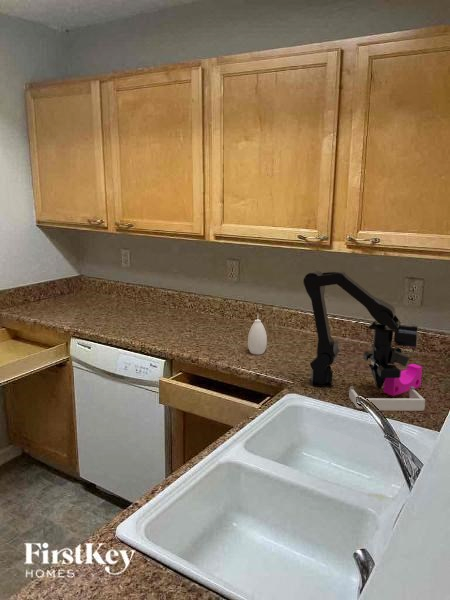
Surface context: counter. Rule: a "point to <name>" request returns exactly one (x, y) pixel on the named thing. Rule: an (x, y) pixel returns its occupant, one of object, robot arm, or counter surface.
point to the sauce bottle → (257, 338)
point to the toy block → (404, 381)
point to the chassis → (394, 402)
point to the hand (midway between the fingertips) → (379, 388)
